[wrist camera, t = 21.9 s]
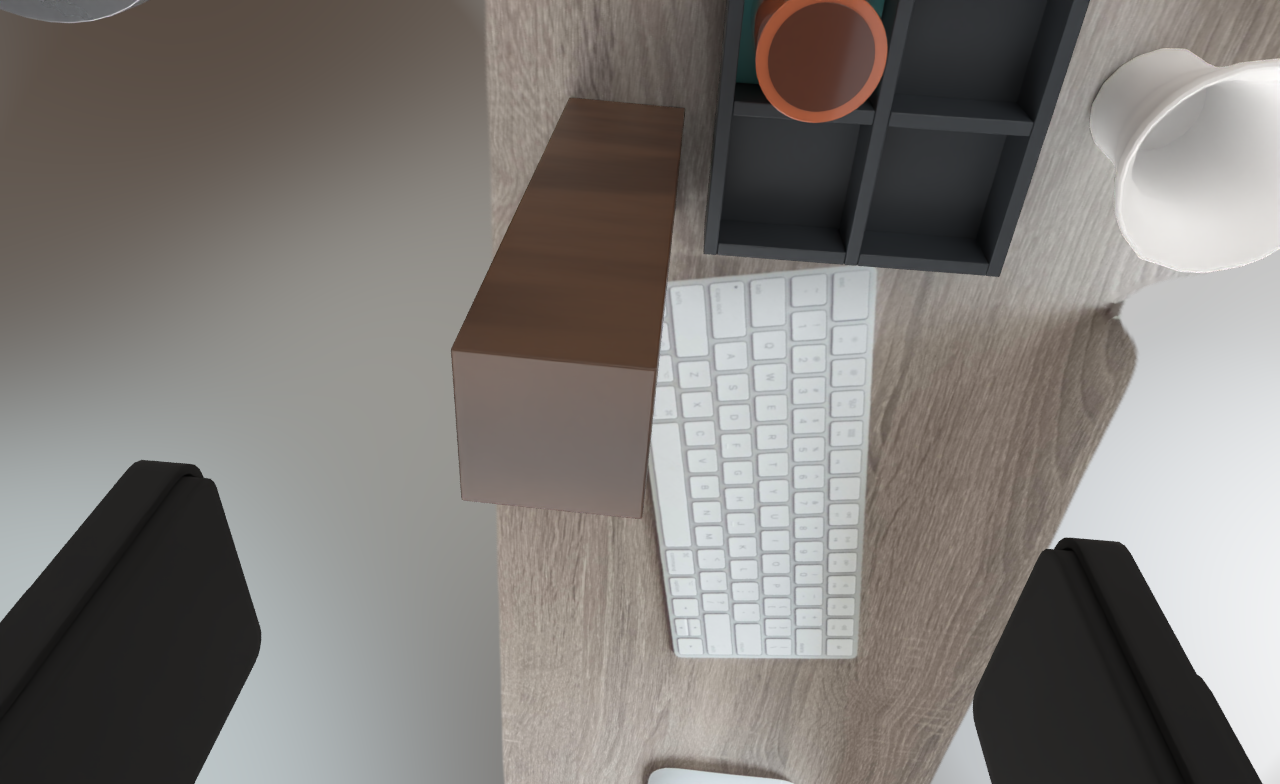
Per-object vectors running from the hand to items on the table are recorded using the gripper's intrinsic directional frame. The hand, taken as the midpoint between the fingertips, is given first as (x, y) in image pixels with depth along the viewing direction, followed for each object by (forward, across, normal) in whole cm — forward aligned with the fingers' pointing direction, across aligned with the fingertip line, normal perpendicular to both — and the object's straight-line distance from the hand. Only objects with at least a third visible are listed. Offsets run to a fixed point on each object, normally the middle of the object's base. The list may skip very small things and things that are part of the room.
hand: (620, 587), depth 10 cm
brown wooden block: (+38, +2, +9) cm, 39 cm away
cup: (+37, -23, +4) cm, 44 cm away
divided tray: (+38, -10, +5) cm, 39 cm away
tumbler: (+37, -6, +1) cm, 37 cm away
